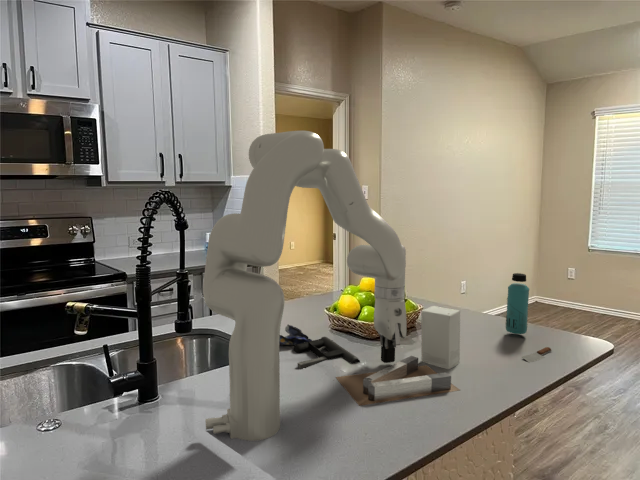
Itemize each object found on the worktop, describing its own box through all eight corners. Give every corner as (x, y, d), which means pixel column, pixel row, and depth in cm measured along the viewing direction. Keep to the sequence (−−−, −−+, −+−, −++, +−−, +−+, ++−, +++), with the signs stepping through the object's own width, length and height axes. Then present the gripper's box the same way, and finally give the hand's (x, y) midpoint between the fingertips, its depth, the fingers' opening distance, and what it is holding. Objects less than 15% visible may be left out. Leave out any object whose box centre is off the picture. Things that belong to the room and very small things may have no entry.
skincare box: (460, 368, 123) (462, 310, 121) (447, 375, 119) (450, 315, 117) (431, 359, 129) (433, 304, 127) (418, 366, 124) (420, 309, 122)
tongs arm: (368, 395, 104) (368, 382, 104) (361, 392, 105) (361, 379, 105) (418, 369, 118) (418, 357, 118) (410, 367, 120) (411, 355, 119)
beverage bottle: (528, 334, 150) (532, 273, 148) (524, 340, 145) (529, 276, 142) (506, 330, 154) (510, 270, 151) (502, 336, 148) (506, 274, 146)
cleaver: (535, 363, 126) (519, 353, 130) (533, 368, 126) (517, 358, 130) (563, 354, 133) (547, 345, 137) (562, 359, 133) (546, 350, 137)
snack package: (277, 337, 148) (267, 349, 137) (280, 317, 147) (270, 328, 136) (313, 345, 146) (306, 358, 135) (317, 325, 146) (310, 337, 134)
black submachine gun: (309, 370, 117) (364, 356, 124) (279, 344, 134) (329, 333, 141) (309, 382, 117) (365, 368, 124) (280, 355, 135) (330, 344, 142)
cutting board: (359, 412, 100) (359, 405, 100) (335, 383, 114) (335, 377, 114) (460, 396, 107) (460, 390, 107) (426, 370, 122) (426, 365, 121)
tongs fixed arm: (370, 401, 101) (370, 387, 101) (366, 397, 103) (366, 383, 103) (450, 389, 108) (451, 375, 107) (445, 385, 110) (446, 372, 109)
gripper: (417, 298, 113) (415, 370, 115) (389, 284, 127) (388, 349, 130) (389, 300, 111) (387, 374, 113) (364, 286, 125) (363, 352, 127)
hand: (387, 361), depth 121 cm, fingers closed
